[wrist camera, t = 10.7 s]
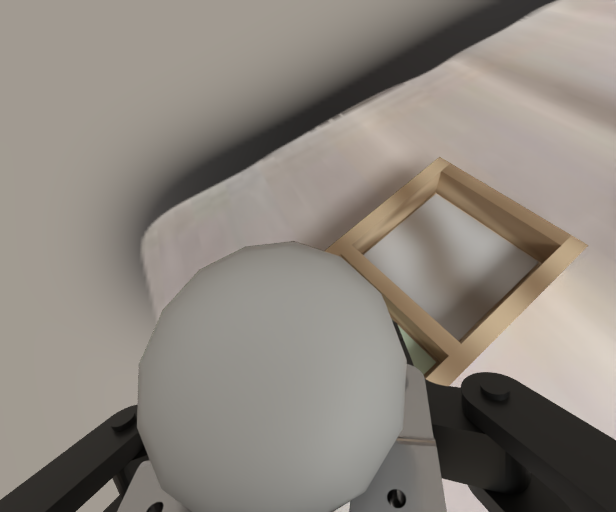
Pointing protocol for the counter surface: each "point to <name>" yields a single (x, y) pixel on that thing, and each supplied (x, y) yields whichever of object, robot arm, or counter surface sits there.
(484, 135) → the counter surface
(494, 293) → the tray
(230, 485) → the salt shaker
